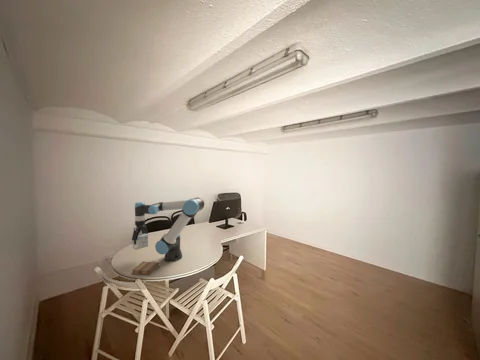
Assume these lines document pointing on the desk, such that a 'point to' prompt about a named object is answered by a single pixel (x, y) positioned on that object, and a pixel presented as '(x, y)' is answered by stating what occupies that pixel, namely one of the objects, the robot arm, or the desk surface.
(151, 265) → the block
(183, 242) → the desk surface
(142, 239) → the light bulb box
